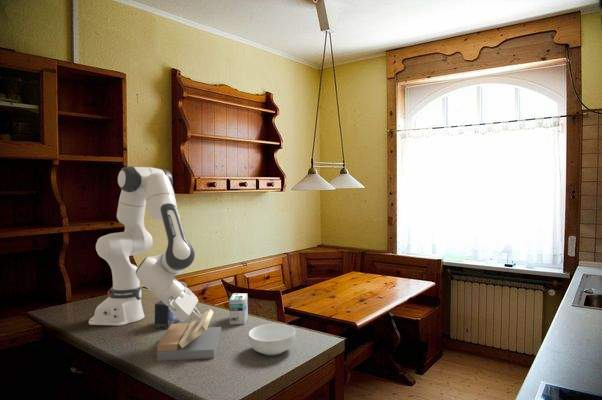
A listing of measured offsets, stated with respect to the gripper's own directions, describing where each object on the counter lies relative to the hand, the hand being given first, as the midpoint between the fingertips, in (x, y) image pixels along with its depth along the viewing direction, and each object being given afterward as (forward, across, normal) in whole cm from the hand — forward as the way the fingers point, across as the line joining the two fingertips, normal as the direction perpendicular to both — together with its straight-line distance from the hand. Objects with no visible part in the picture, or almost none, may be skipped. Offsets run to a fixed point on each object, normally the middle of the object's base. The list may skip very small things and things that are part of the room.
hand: (200, 319), depth 147 cm
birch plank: (+2, 0, +3) cm, 4 cm away
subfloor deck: (+5, 0, +10) cm, 11 cm away
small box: (-6, +25, +20) cm, 33 cm away
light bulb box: (+16, +27, -1) cm, 31 cm away
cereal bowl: (+26, -7, -11) cm, 29 cm away
